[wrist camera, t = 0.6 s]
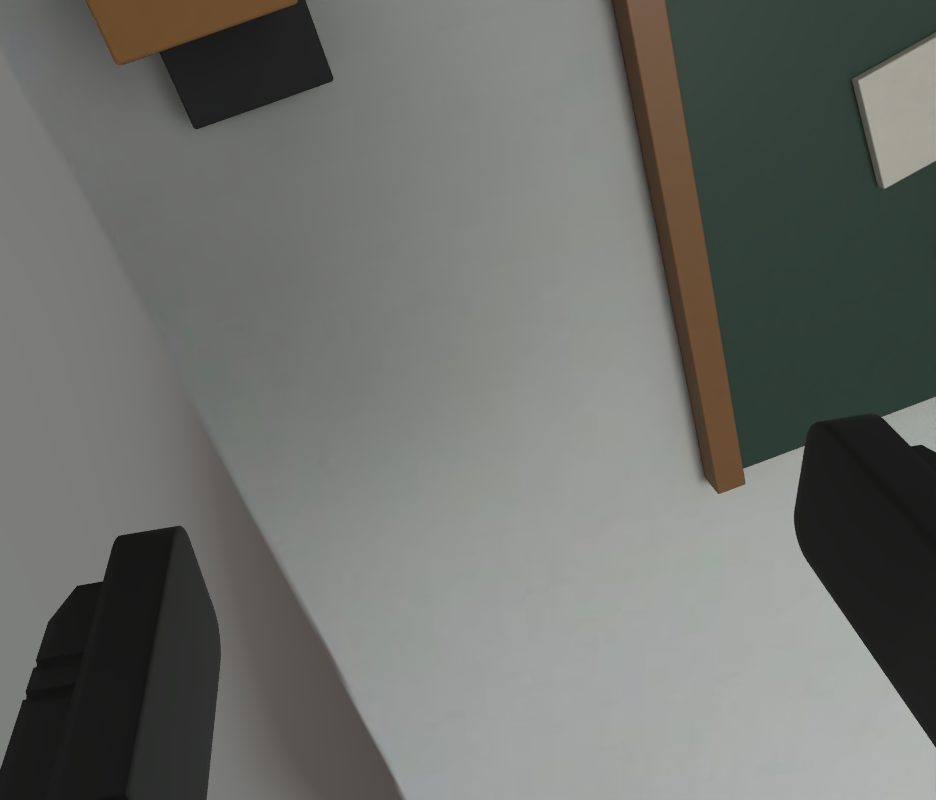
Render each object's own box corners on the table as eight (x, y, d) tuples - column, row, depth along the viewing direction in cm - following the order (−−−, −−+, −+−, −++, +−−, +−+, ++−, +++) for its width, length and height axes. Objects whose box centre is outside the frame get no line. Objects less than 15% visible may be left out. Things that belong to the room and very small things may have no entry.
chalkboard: (594, -88, 25) (609, -90, 24) (1137, -279, 26) (1174, -289, 25) (705, 478, 36) (718, 495, 35) (1089, 335, 36) (1113, 346, 35)
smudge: (850, 78, 28) (858, 80, 28) (963, 15, 28) (971, 17, 28) (877, 186, 30) (884, 189, 30) (982, 128, 30) (991, 131, 29)
